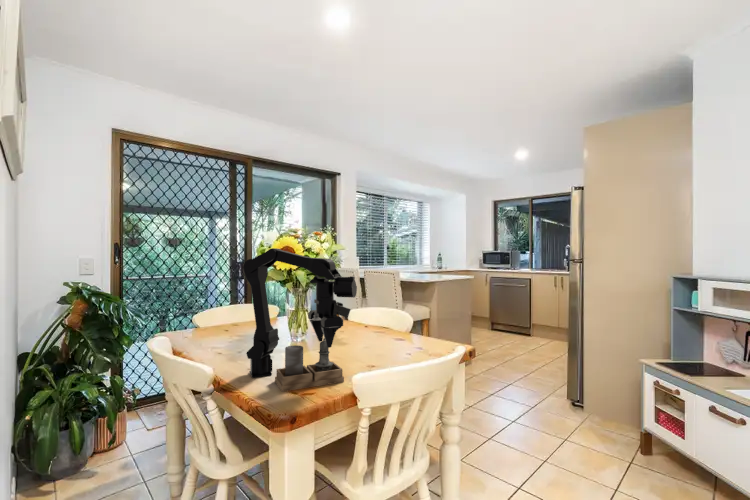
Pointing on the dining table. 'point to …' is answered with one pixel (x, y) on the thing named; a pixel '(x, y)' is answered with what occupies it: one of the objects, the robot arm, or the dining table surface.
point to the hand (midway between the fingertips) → (324, 344)
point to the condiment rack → (304, 372)
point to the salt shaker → (323, 358)
